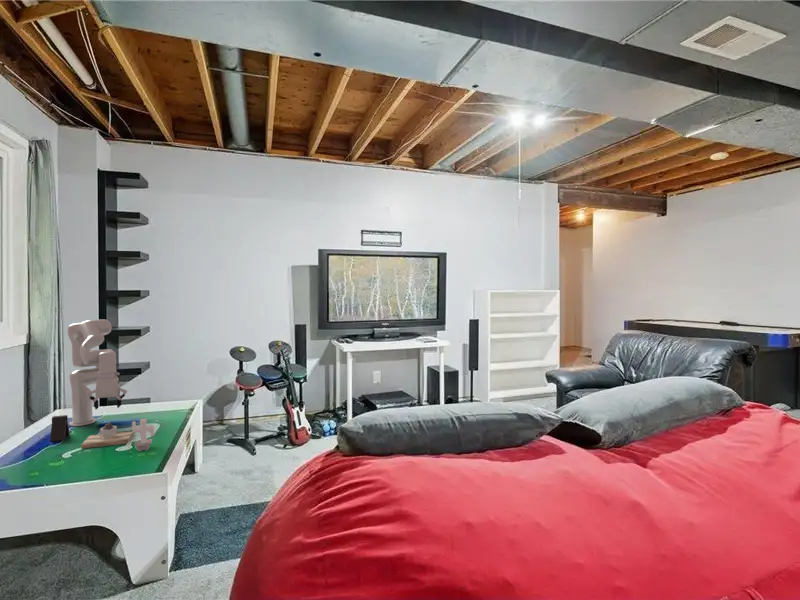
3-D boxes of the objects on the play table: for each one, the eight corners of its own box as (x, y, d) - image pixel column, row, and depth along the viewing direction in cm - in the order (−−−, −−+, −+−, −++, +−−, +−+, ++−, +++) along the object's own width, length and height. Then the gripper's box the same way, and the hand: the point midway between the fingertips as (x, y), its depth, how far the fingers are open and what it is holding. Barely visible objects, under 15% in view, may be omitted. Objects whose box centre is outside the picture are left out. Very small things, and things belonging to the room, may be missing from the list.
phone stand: (63, 440, 225) (63, 417, 225) (49, 441, 223) (49, 419, 222) (70, 434, 233) (69, 413, 233) (56, 436, 231) (56, 414, 231)
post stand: (89, 439, 227) (89, 422, 227) (133, 434, 234) (133, 418, 234) (81, 448, 214) (81, 430, 214) (127, 443, 221) (127, 426, 221)
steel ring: (102, 435, 226) (102, 426, 226) (118, 434, 229) (117, 425, 229) (98, 440, 220) (98, 430, 220) (114, 438, 222) (114, 429, 222)
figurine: (154, 450, 212) (153, 420, 212) (131, 453, 208) (131, 422, 208) (154, 445, 219) (154, 416, 218) (133, 448, 215) (132, 418, 214)
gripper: (128, 372, 230) (128, 404, 231) (89, 374, 224) (90, 407, 224) (125, 375, 223) (125, 408, 224) (85, 377, 217) (85, 411, 217)
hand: (107, 407), depth 224 cm, fingers open, 9 cm apart
